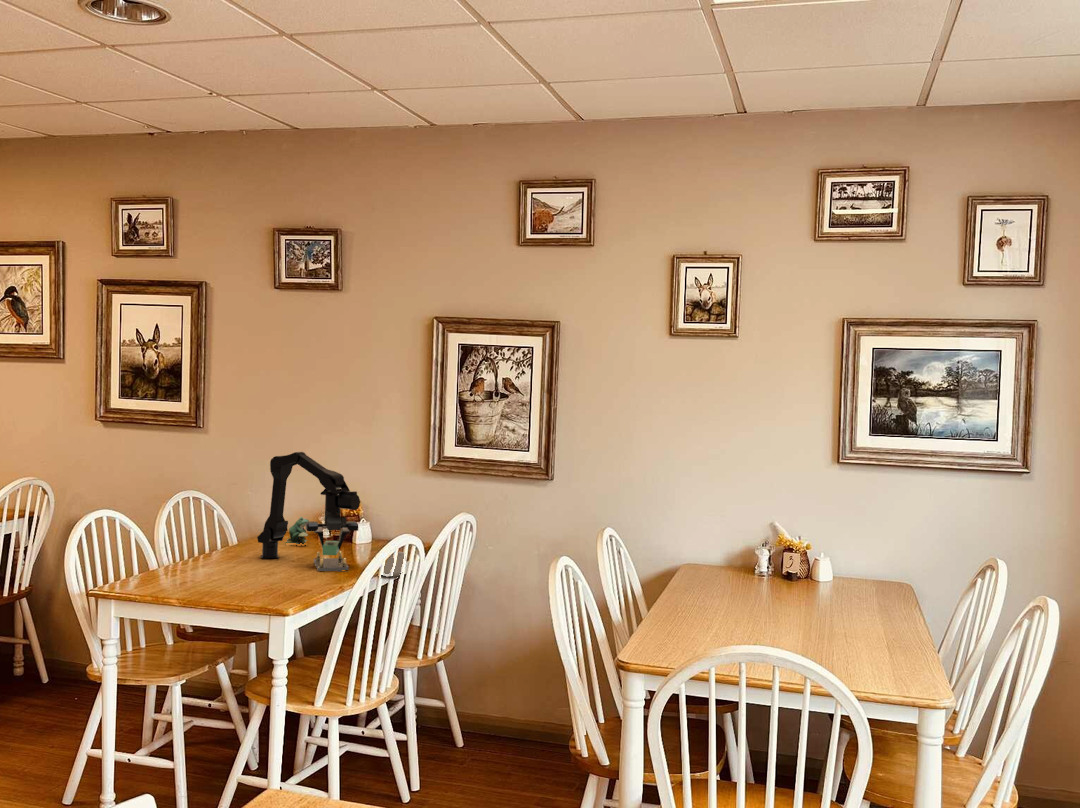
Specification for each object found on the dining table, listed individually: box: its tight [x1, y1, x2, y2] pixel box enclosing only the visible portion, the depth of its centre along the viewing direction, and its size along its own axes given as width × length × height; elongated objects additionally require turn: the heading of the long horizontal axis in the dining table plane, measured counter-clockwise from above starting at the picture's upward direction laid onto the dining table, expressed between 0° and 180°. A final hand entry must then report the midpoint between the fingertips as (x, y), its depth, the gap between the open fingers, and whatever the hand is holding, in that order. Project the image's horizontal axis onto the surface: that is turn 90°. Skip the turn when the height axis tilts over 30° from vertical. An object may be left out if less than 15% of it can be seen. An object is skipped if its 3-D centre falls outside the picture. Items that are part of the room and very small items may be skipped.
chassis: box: [313, 550, 350, 572], centre depth 359 cm, size 17×11×4 cm, turn 18°
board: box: [322, 540, 340, 556], centre depth 359 cm, size 10×5×4 cm, turn 5°
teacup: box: [374, 551, 405, 578], centre depth 350 cm, size 14×11×8 cm
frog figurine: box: [285, 516, 310, 544], centre depth 401 cm, size 18×18×12 cm
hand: (331, 549), depth 359 cm, fingers closed on board, 5 cm apart
